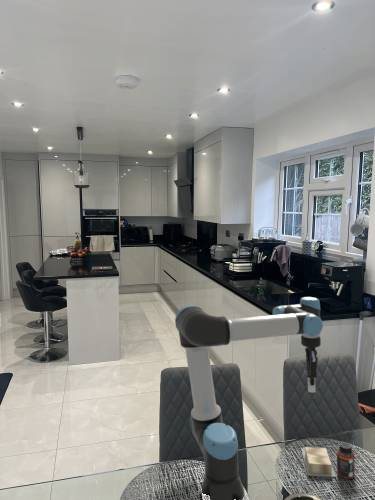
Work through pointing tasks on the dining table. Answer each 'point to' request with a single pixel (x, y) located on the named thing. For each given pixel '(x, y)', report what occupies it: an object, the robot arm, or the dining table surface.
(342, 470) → the supplement bottle
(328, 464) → the small box
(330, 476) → the grey mat
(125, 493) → the dining table surface
